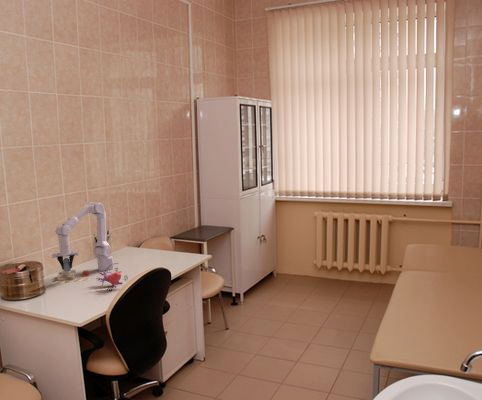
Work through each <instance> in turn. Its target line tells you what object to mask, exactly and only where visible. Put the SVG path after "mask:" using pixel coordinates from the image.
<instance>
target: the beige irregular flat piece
mask: <svg viewBox="0 0 482 400" xmlns="http://www.w3.org/2000/svg"><path fill="white" fill-rule="evenodd" d="M61 272H62V270H60V271H59V272H58V273H57V280H56V281H55V282H54V285H57V284H58V285H59V284H65V283H66V284H67V283H75V282H85V281H91V279H92V278H91V277H89V275H90V274H89V269H88V270H87V269H86V270H83V271H82V275H83V277H84V278H83V277H82V278H75V277H76V275H77V273H76V269H71V274H62V273H61Z"/></svg>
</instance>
